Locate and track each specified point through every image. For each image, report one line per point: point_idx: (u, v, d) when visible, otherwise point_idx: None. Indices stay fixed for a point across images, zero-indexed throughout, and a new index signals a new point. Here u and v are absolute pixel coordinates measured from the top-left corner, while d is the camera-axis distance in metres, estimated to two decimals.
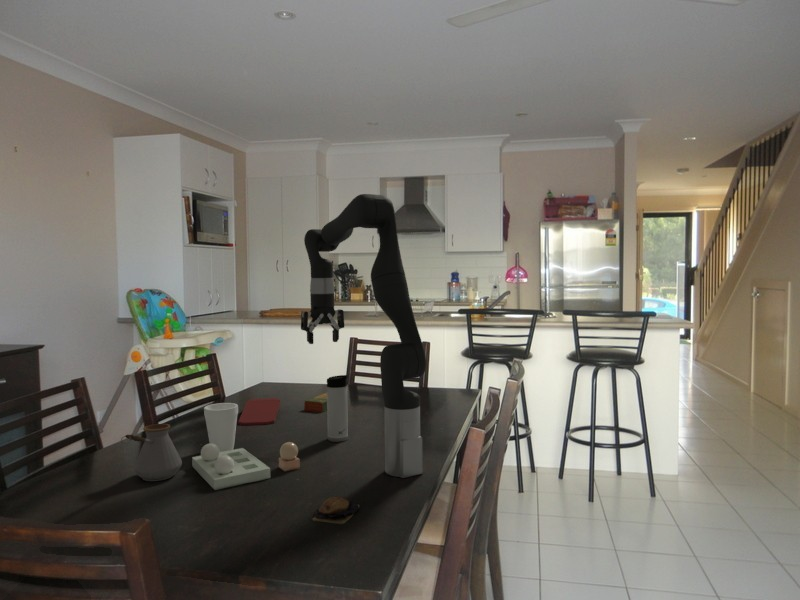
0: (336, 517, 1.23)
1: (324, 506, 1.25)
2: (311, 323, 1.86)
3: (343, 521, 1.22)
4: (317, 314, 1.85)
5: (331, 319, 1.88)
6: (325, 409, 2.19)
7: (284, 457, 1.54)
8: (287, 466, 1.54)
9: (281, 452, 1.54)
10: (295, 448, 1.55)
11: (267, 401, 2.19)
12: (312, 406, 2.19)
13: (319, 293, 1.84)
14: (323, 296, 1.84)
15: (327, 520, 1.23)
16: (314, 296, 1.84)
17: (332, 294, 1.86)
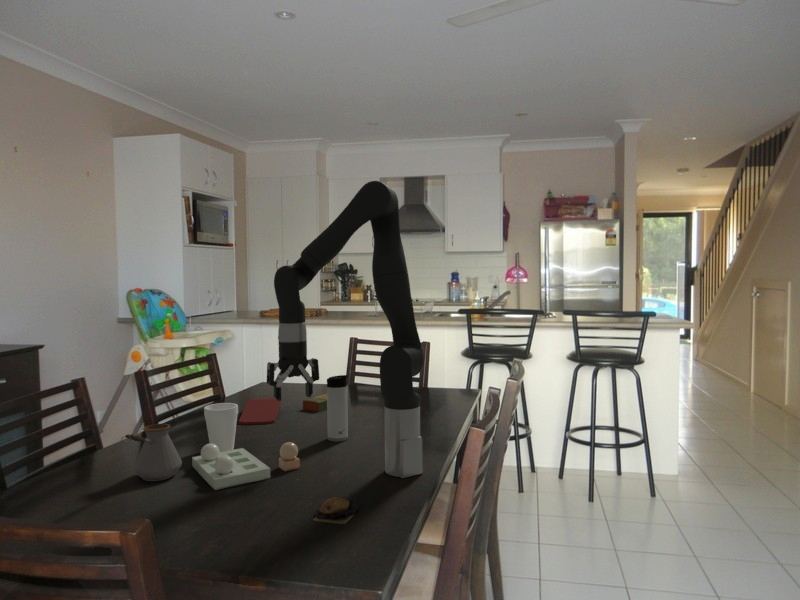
0: (337, 517, 1.23)
1: (325, 506, 1.25)
2: (279, 376, 1.57)
3: (344, 521, 1.22)
4: (286, 366, 1.57)
5: (303, 371, 1.59)
6: (322, 409, 2.19)
7: (284, 457, 1.54)
8: (287, 466, 1.54)
9: (281, 452, 1.54)
10: (295, 448, 1.55)
11: (268, 401, 2.20)
12: (309, 406, 2.20)
13: (288, 341, 1.55)
14: (293, 345, 1.56)
15: (328, 520, 1.22)
16: (282, 345, 1.56)
17: (304, 342, 1.57)
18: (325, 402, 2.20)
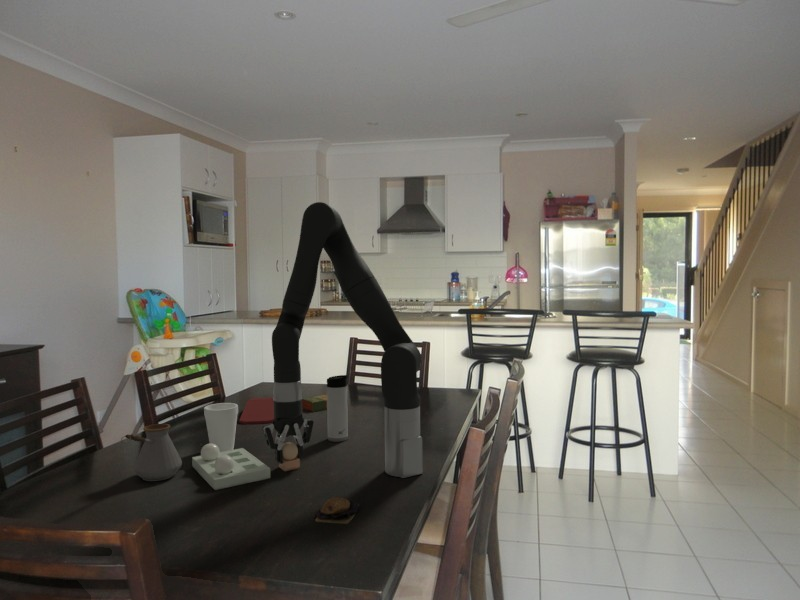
0: (339, 517, 1.23)
1: (326, 507, 1.25)
2: (277, 438, 1.54)
3: (347, 521, 1.22)
4: (281, 427, 1.53)
5: (298, 430, 1.56)
6: (317, 409, 2.19)
7: (284, 457, 1.54)
8: (287, 466, 1.54)
9: None
10: (295, 448, 1.55)
11: (267, 400, 2.21)
12: (306, 405, 2.21)
13: (283, 401, 1.52)
14: (288, 404, 1.52)
15: (331, 520, 1.22)
16: (277, 404, 1.52)
17: (299, 401, 1.54)
18: (321, 402, 2.20)
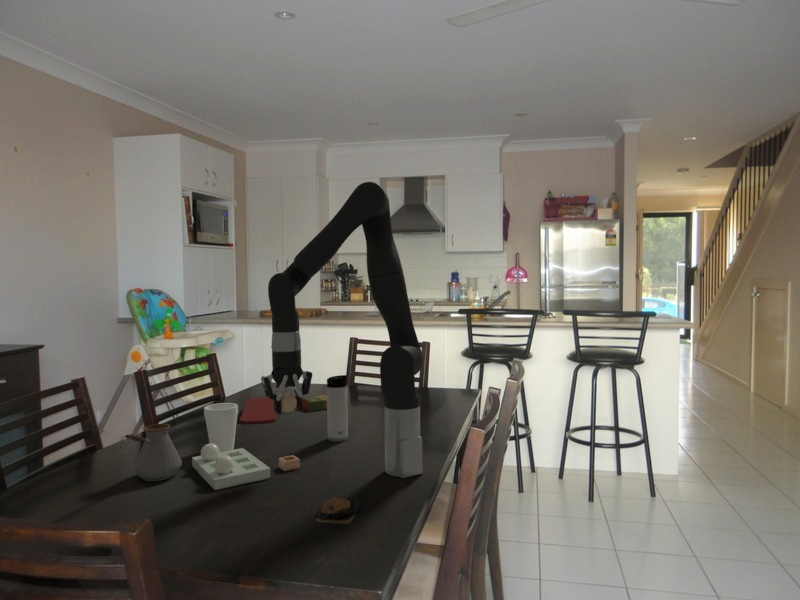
0: (340, 517, 1.23)
1: (327, 507, 1.24)
2: (276, 389, 1.54)
3: (348, 521, 1.22)
4: (280, 377, 1.53)
5: (297, 381, 1.55)
6: (314, 409, 2.19)
7: (283, 408, 1.53)
8: (287, 466, 1.54)
9: None
10: (294, 399, 1.54)
11: (267, 400, 2.21)
12: (305, 404, 2.22)
13: (282, 351, 1.51)
14: (287, 354, 1.51)
15: (332, 520, 1.22)
16: (276, 354, 1.52)
17: (298, 351, 1.53)
18: (319, 402, 2.20)
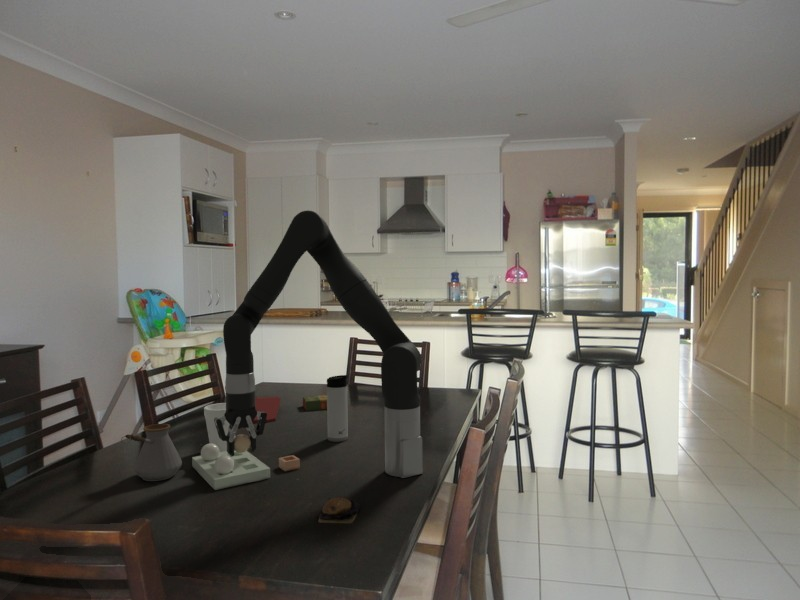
0: (342, 517, 1.23)
1: (329, 507, 1.24)
2: (229, 430, 1.53)
3: (351, 520, 1.22)
4: (233, 419, 1.53)
5: (251, 422, 1.55)
6: (310, 408, 2.20)
7: (236, 449, 1.53)
8: (287, 466, 1.54)
9: None
10: (247, 440, 1.54)
11: (267, 399, 2.22)
12: (303, 403, 2.24)
13: (234, 393, 1.51)
14: (240, 396, 1.51)
15: (334, 521, 1.22)
16: (229, 396, 1.51)
17: (252, 393, 1.53)
18: (315, 402, 2.21)
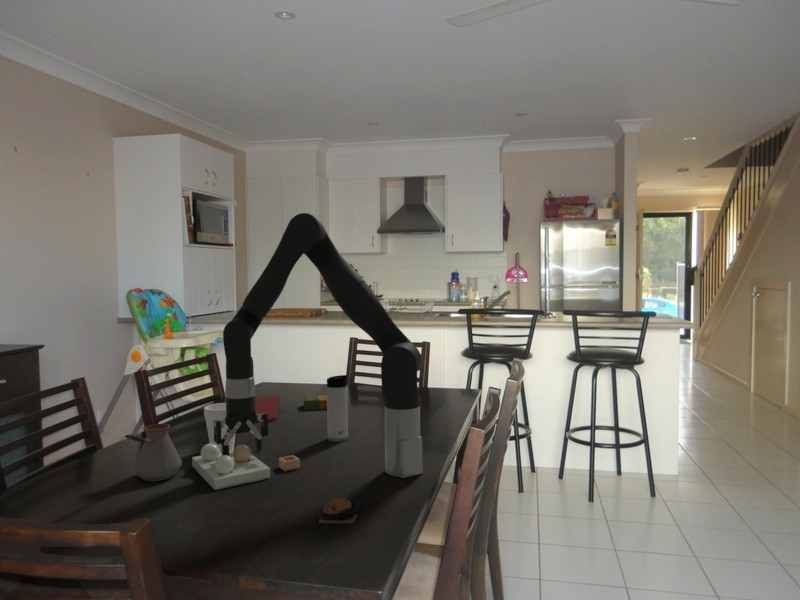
0: (343, 517, 1.23)
1: (329, 507, 1.24)
2: (227, 433, 1.53)
3: (352, 520, 1.22)
4: (233, 422, 1.52)
5: (251, 427, 1.55)
6: (309, 408, 2.21)
7: (236, 460, 1.53)
8: (287, 466, 1.54)
9: (233, 455, 1.53)
10: (248, 451, 1.54)
11: (267, 399, 2.23)
12: None
13: (235, 398, 1.51)
14: (240, 401, 1.51)
15: (335, 521, 1.22)
16: (229, 401, 1.51)
17: (252, 397, 1.53)
18: (314, 402, 2.21)
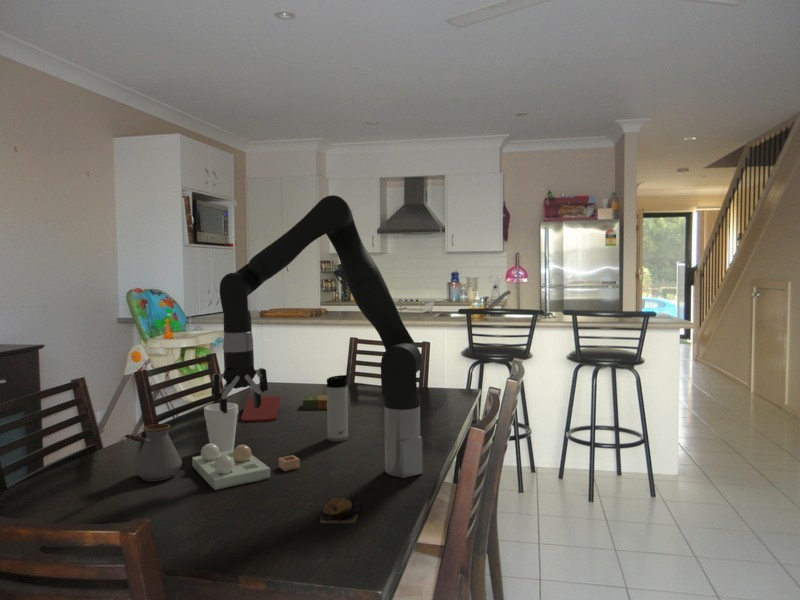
0: (344, 517, 1.23)
1: (330, 507, 1.24)
2: (224, 387, 1.52)
3: (353, 520, 1.22)
4: (232, 376, 1.52)
5: (250, 381, 1.54)
6: (307, 407, 2.22)
7: (236, 460, 1.53)
8: (287, 466, 1.54)
9: (233, 455, 1.53)
10: (248, 451, 1.54)
11: (267, 399, 2.23)
12: None
13: (233, 351, 1.50)
14: (238, 355, 1.50)
15: (336, 521, 1.22)
16: (227, 355, 1.51)
17: (250, 352, 1.52)
18: (312, 401, 2.22)
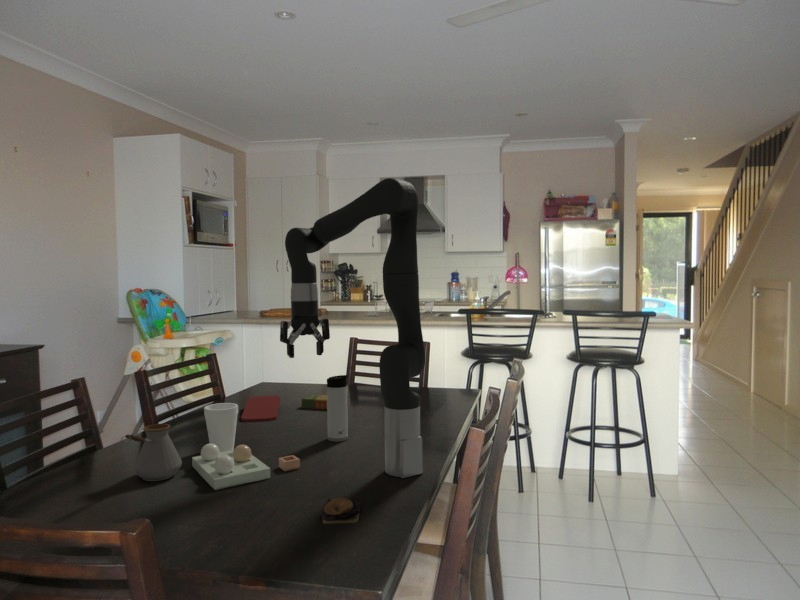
0: (347, 517, 1.23)
1: (332, 508, 1.24)
2: (292, 334, 1.64)
3: (356, 519, 1.23)
4: (298, 324, 1.64)
5: (314, 329, 1.66)
6: (306, 406, 2.24)
7: (236, 460, 1.53)
8: (287, 466, 1.54)
9: (233, 455, 1.53)
10: (248, 450, 1.54)
11: (267, 398, 2.24)
12: None
13: (300, 300, 1.62)
14: (305, 303, 1.62)
15: (339, 521, 1.22)
16: (295, 304, 1.63)
17: (315, 301, 1.64)
18: (310, 400, 2.23)
